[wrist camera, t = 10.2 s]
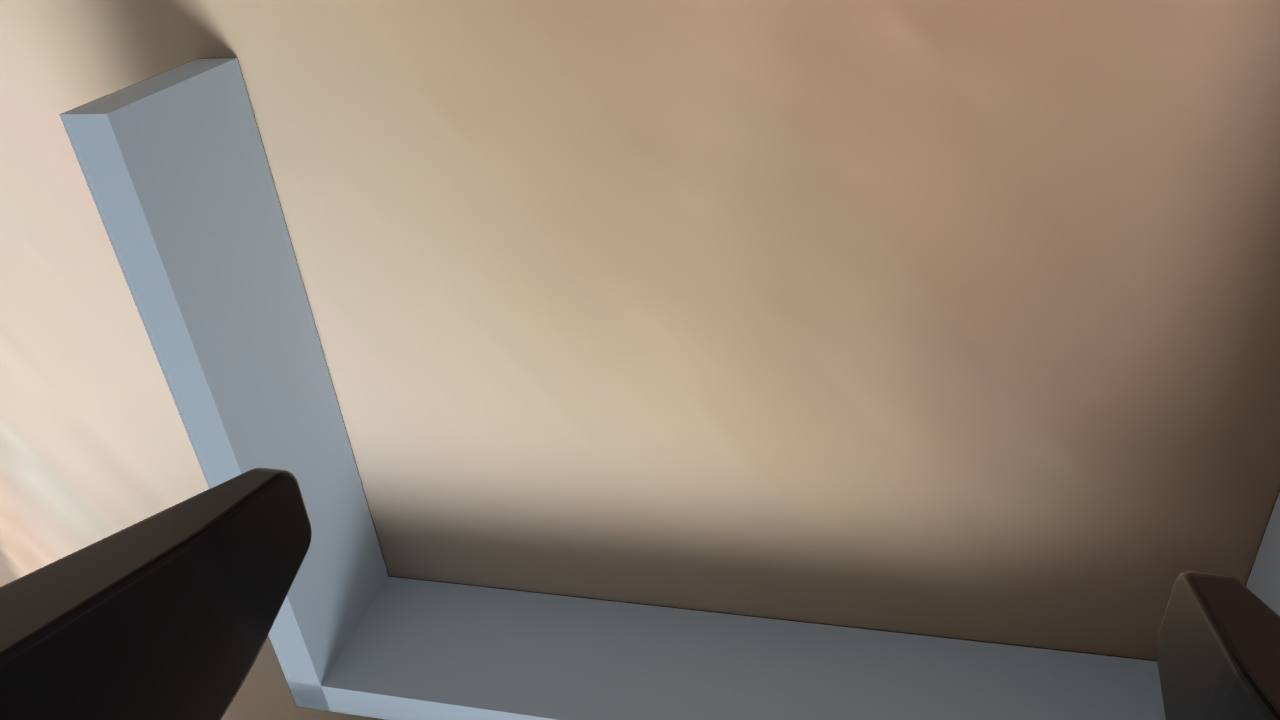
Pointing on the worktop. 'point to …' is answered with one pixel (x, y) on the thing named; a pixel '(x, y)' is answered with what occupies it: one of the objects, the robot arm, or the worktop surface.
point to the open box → (452, 613)
